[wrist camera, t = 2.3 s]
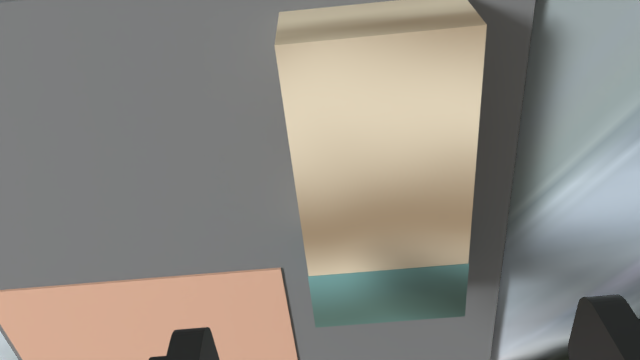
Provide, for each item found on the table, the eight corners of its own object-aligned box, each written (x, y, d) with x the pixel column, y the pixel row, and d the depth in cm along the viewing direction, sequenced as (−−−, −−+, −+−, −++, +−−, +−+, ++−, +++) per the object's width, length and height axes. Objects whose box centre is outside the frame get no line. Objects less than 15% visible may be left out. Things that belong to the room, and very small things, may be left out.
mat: (-184, 17, 16) (-200, 24, 15) (535, -58, 15) (543, -52, 14) (68, 421, 27) (63, 433, 26) (482, 392, 26) (485, 404, 26)
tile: (278, 11, 15) (273, 45, 13) (463, -7, 15) (487, 24, 13) (314, 274, 21) (315, 327, 19) (449, 263, 21) (465, 316, 19)
